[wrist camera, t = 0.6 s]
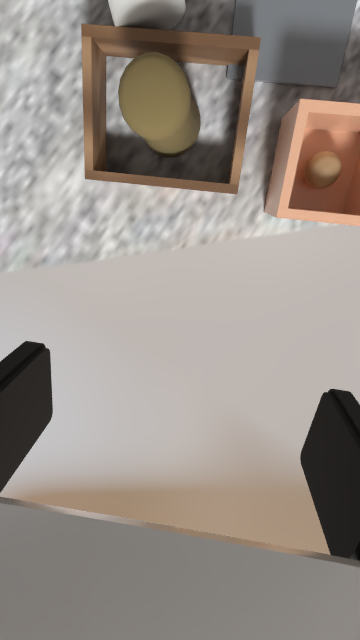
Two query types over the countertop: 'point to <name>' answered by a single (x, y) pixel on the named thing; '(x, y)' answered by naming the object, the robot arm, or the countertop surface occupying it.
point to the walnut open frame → (179, 48)
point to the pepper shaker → (159, 104)
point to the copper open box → (304, 142)
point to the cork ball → (322, 169)
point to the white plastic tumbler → (147, 13)
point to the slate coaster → (295, 39)
